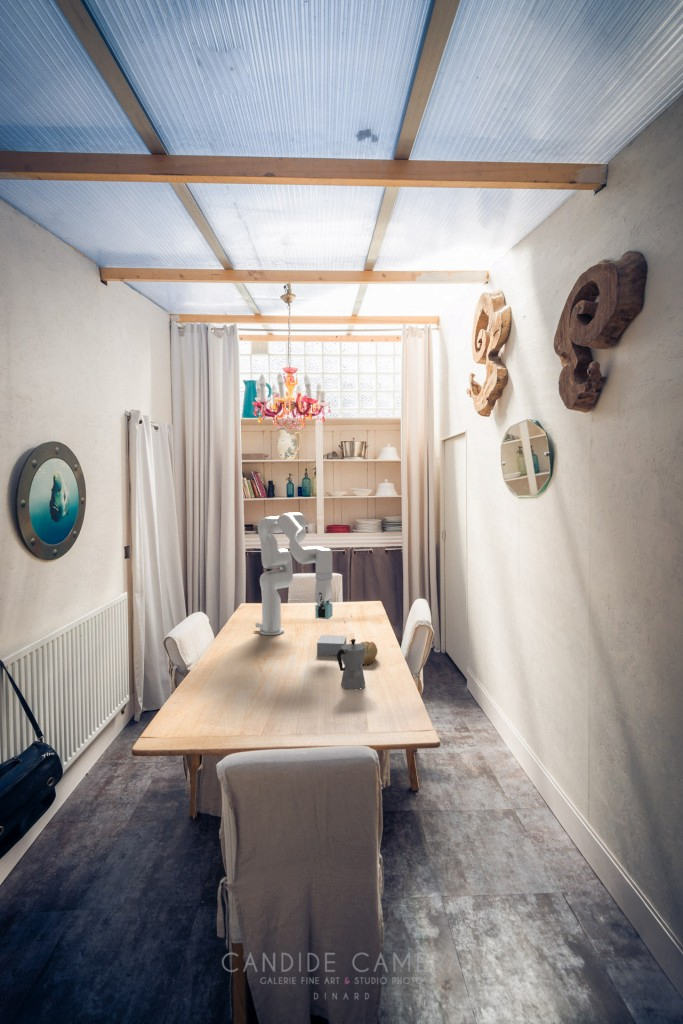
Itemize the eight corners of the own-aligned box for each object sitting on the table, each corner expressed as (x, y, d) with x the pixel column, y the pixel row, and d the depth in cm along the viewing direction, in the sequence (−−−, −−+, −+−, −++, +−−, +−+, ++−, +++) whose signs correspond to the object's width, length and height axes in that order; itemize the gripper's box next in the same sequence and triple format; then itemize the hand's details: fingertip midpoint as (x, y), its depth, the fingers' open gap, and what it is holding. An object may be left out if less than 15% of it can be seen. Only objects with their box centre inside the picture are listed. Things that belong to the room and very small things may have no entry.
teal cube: (315, 618, 238) (315, 604, 238) (320, 614, 244) (320, 601, 244) (328, 619, 236) (328, 605, 236) (332, 615, 242) (332, 602, 242)
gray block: (317, 656, 238) (317, 642, 238) (320, 647, 250) (320, 635, 250) (343, 656, 237) (343, 643, 237) (346, 648, 249) (346, 635, 248)
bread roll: (377, 654, 239) (377, 637, 239) (377, 666, 224) (377, 648, 224) (356, 654, 240) (356, 637, 239) (354, 666, 225) (354, 647, 224)
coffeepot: (355, 677, 212) (355, 633, 210) (373, 683, 205) (373, 638, 204) (328, 688, 200) (328, 641, 199) (346, 695, 194) (346, 647, 193)
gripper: (322, 572, 248) (322, 610, 249) (309, 578, 232) (309, 619, 233) (337, 573, 246) (337, 611, 247) (325, 579, 230) (325, 621, 231)
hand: (324, 615), depth 240 cm, fingers closed on teal cube, 6 cm apart
